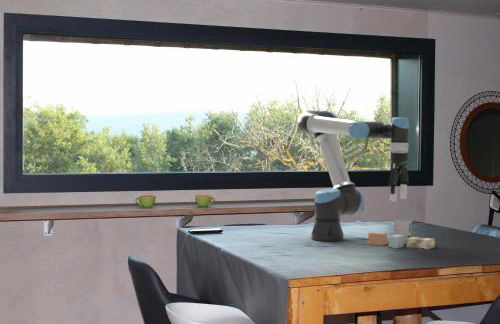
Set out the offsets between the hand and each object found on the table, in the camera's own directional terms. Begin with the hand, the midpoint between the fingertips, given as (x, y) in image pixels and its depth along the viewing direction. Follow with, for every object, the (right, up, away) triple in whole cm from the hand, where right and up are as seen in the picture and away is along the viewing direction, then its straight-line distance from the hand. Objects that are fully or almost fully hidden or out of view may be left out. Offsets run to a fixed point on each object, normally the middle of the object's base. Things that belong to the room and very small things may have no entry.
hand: (398, 200), depth 300 cm
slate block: (-3, -20, -8) cm, 22 cm away
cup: (+2, -20, +3) cm, 20 cm away
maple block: (+8, -20, -9) cm, 23 cm away
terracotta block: (-9, -20, 0) cm, 22 cm away
